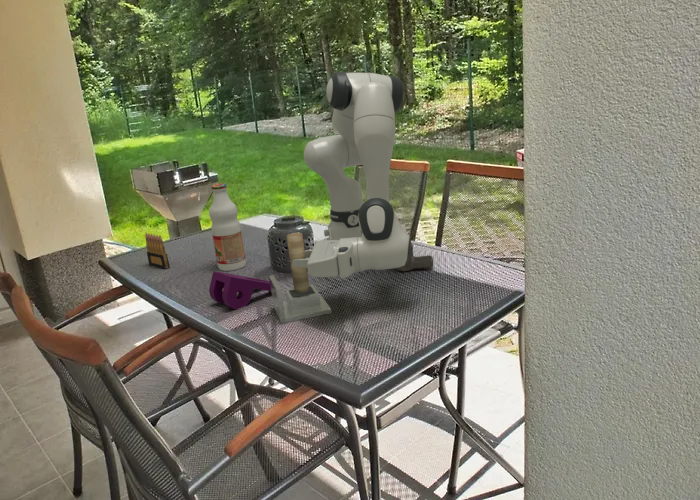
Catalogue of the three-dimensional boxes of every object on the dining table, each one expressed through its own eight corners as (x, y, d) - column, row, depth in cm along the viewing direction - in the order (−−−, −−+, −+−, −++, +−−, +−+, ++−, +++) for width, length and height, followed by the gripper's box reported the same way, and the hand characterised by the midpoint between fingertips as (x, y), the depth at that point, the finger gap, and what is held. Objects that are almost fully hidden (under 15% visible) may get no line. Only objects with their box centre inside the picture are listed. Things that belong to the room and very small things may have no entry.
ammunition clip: (149, 265, 213) (142, 232, 209) (153, 263, 214) (147, 231, 211) (165, 269, 206) (158, 236, 202) (170, 267, 207) (163, 234, 204)
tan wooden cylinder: (293, 289, 158) (285, 234, 153) (307, 286, 159) (300, 231, 154) (296, 294, 154) (288, 237, 150) (311, 291, 155) (303, 235, 151)
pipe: (432, 272, 176) (430, 246, 173) (389, 273, 179) (387, 248, 176) (434, 265, 181) (432, 240, 179) (392, 267, 184) (390, 242, 182)
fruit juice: (240, 271, 195) (226, 186, 187) (213, 271, 198) (198, 188, 190) (250, 261, 204) (237, 180, 196) (225, 262, 206) (211, 182, 198)
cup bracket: (273, 307, 162) (268, 275, 159) (320, 297, 165) (317, 266, 162) (281, 323, 151) (276, 290, 148) (331, 312, 154) (327, 280, 151)
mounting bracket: (258, 307, 179) (206, 300, 167) (265, 279, 179) (213, 270, 167) (277, 314, 172) (223, 307, 160) (283, 285, 173) (231, 276, 160)
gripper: (349, 232, 162) (298, 236, 163) (343, 255, 142) (286, 259, 143) (351, 254, 163) (301, 258, 165) (346, 280, 144) (289, 284, 145)
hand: (294, 259), depth 154 cm, fingers closed on tan wooden cylinder, 4 cm apart
